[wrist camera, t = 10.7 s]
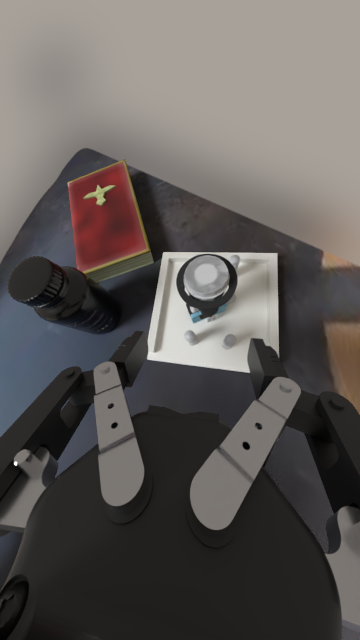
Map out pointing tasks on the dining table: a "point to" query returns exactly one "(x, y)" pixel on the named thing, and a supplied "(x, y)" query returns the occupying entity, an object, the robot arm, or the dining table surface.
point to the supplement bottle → (64, 296)
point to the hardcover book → (107, 224)
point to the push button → (207, 285)
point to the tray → (228, 327)
